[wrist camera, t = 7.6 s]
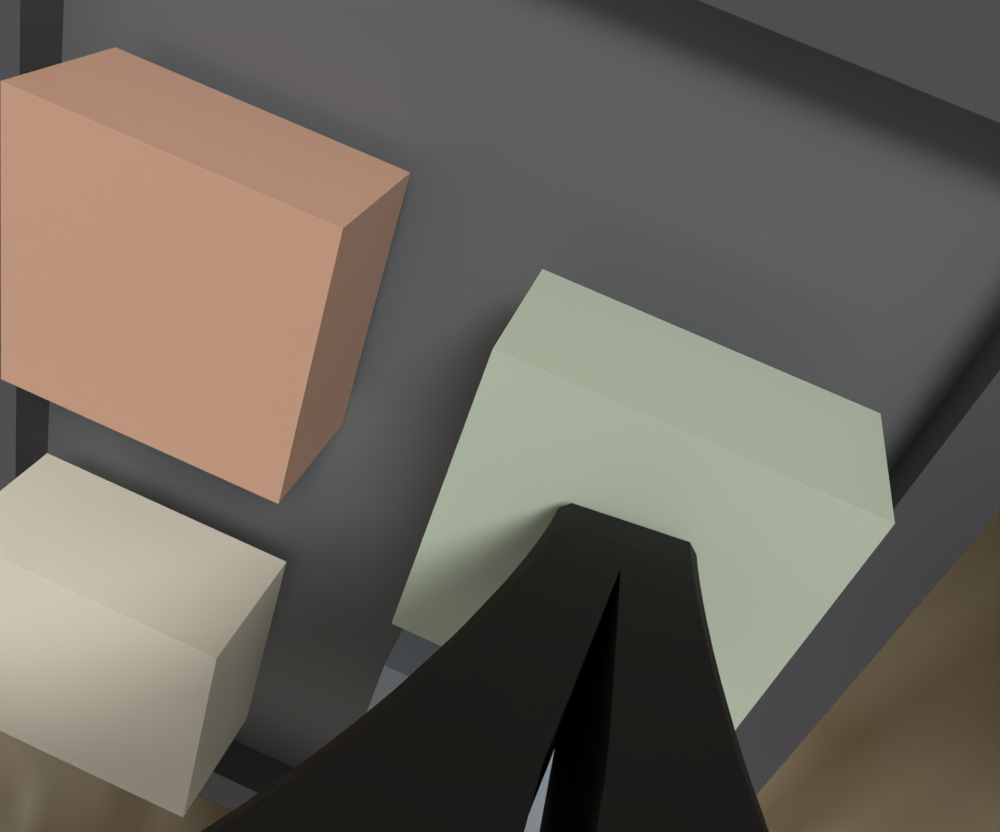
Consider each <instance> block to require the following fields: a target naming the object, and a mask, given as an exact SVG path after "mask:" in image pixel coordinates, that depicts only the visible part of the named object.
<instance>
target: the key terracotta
mask: <svg viewBox="0 0 1000 832" xmlns="http://www.w3.org/2000/svg"><path fill="white" fill-rule="evenodd" d="M409 176H410V172H408V171H406V170H403V169H401V168H399V167H396V166H394V165H391V164H389V163H387V162H384V161H382V160H380V159H377V158H375V157H373V156H370V155H368V154H366V153H363V152H361V151H359V150H356V149H354V148H352V147H349V146H347V145H344V144H342V143H340V142H337V141H335V140H333V139H330V138H328V137H326V136H323V135H321V134H319V133H316V132H314V131H312V130H309V129H307V128H304V127H302V126H300V125H297V124H295V123H293V122H290V121H288V120H286V119H283V118H281V117H279V116H276V115H274V114H272V113H269V112H267V111H264V110H262V109H260V108H257V107H255V106H253V105H250V104H248V103H246V102H243V101H241V100H239V99H236V98H234V97H232V96H229V95H227V94H224V93H222V92H220V91H217V90H215V89H213V88H210V87H208V86H206V85H203V84H201V83H199V82H196V81H194V80H192V79H189V78H187V77H184V76H182V75H180V74H177V73H175V72H173V71H170V70H168V69H166V68H163V67H161V66H159V65H156V64H154V63H152V62H149V61H147V60H144V59H142V58H140V57H137V56H135V55H133V54H130V53H128V52H126V51H123V50H121V49H119V48H116V47H114V48H111V49H108V50H104V51H101V52H97V53H94V54H91V55H87V56H84V57H80V58H77V59H73V60H70V61H67V62H63V63H60V64H56V65H53V66H50V67H46V68H43V69H39V70H36V71H33V72H29V73H26V74H22V75H19V76H15V77H12V78H9V79H5V80H2V81H1V379H2V380H4V381H6V382H9V383H11V384H13V385H15V386H17V387H20V388H22V389H24V390H26V391H29V392H31V393H33V394H35V395H37V396H40V397H42V398H44V399H46V400H49V401H51V402H53V403H55V404H57V405H60V406H62V407H64V408H66V409H68V410H71V411H73V412H75V413H77V414H80V415H82V416H84V417H86V418H88V419H91V420H93V421H95V422H97V423H100V424H102V425H104V426H106V427H108V428H111V429H113V430H115V431H117V432H120V433H122V434H124V435H126V436H128V437H131V438H133V439H135V440H137V441H140V442H142V443H144V444H146V445H148V446H151V447H153V448H155V449H157V450H160V451H162V452H164V453H166V454H168V455H171V456H173V457H175V458H177V459H180V460H182V461H184V462H186V463H188V464H191V465H193V466H195V467H197V468H199V469H202V470H204V471H206V472H208V473H211V474H213V475H215V476H217V477H219V478H222V479H224V480H226V481H228V482H231V483H233V484H235V485H237V486H239V487H242V488H244V489H246V490H248V491H251V492H253V493H255V494H257V495H259V496H262V497H264V498H266V499H268V500H271V501H273V502H275V503H277V504H279V503H280V501H281V500H282V499H283V498H284V496H285V495H286V494H287V493H288V491H289V490H290V489H291V488H292V486H293V485H294V484H295V483H296V481H297V480H298V479H299V478H300V476H301V475H302V474H303V473H304V471H305V470H306V469H307V468H308V466H309V465H310V464H311V463H312V461H313V460H314V459H315V458H316V456H317V455H318V454H319V453H320V451H321V450H322V449H323V448H324V446H325V445H326V444H327V443H328V441H329V440H330V439H331V438H332V436H333V435H334V434H335V433H336V431H337V430H338V429H339V428H340V426H341V425H342V424H343V420H344V416H345V413H346V409H347V405H348V401H349V398H350V394H351V390H352V387H353V383H354V379H355V376H356V372H357V368H358V364H359V361H360V357H361V353H362V350H363V346H364V342H365V339H366V335H367V331H368V328H369V324H370V320H371V316H372V313H373V309H374V305H375V302H376V298H377V294H378V291H379V287H380V283H381V279H382V276H383V272H384V268H385V265H386V261H387V257H388V254H389V250H390V246H391V243H392V239H393V235H394V231H395V228H396V224H397V220H398V217H399V213H400V209H401V206H402V202H403V198H404V194H405V191H406V187H407V183H408V180H409Z"/></svg>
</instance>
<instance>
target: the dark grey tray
mask: <svg viewBox="0 0 1000 832" xmlns="http://www.w3.org/2000/svg"><path fill="white" fill-rule="evenodd" d="M114 47H116V48H119V49H121V50H123V51H126V52H128V53H130V54H133V55H135V56H137V57H140V58H142V59H144V60H147V61H149V62H152V63H154V64H156V65H159V66H161V67H163V68H166V69H168V70H170V71H173V72H175V73H177V74H180V75H182V76H184V77H187V78H189V79H192V80H194V81H196V82H199V83H201V84H203V85H206V86H208V87H210V88H213V89H215V90H217V91H220V92H222V93H224V94H227V95H229V96H232V97H234V98H236V99H239V100H241V101H243V102H246V103H248V104H250V105H253V106H255V107H257V108H260V109H262V110H264V111H267V112H269V113H272V114H274V115H276V116H279V117H281V118H283V119H286V120H288V121H290V122H293V123H295V124H297V125H300V126H302V127H304V128H307V129H309V130H312V131H314V132H316V133H319V134H321V135H323V136H326V137H328V138H330V139H333V140H335V141H337V142H340V143H342V144H344V145H347V146H349V147H352V148H354V149H356V150H359V151H361V152H363V153H366V154H368V155H370V156H373V157H375V158H377V159H380V160H382V161H384V162H387V163H389V164H391V165H394V166H396V167H399V168H401V169H403V170H406V171H408V172H410V176H409V180H408V183H407V187H406V191H405V194H404V198H403V202H402V206H401V209H400V213H399V217H398V220H397V224H396V228H395V231H394V235H393V239H392V243H391V246H390V250H389V254H388V257H387V261H386V265H385V268H384V272H383V276H382V279H381V283H380V287H379V291H378V294H377V298H376V302H375V305H374V309H373V313H372V316H371V320H370V324H369V328H368V331H367V335H366V339H365V342H364V346H363V350H362V353H361V357H360V361H359V364H358V368H357V372H356V376H355V379H354V383H353V387H352V390H351V394H350V398H349V401H348V405H347V409H346V413H345V416H344V420H343V424H342V425H341V426H340V428H339V429H338V430H337V431H336V433H335V434H334V435H333V436H332V438H331V439H330V440H329V441H328V443H327V444H326V445H325V446H324V448H323V449H322V450H321V451H320V453H319V454H318V455H317V456H316V458H315V459H314V460H313V461H312V463H311V464H310V465H309V466H308V468H307V469H306V470H305V471H304V473H303V474H302V475H301V476H300V478H299V479H298V480H297V481H296V483H295V484H294V485H293V486H292V488H291V489H290V490H289V491H288V493H287V494H286V495H285V496H284V498H283V499H282V500H281V501H280V503H279V504H277V503H275V502H273V501H271V500H268V499H266V498H264V497H262V496H259V495H257V494H255V493H253V492H251V491H248V490H246V489H244V488H242V487H239V486H237V485H235V484H233V483H231V482H228V481H226V480H224V479H222V478H219V477H217V476H215V475H213V474H211V473H208V472H206V471H204V470H202V469H199V468H197V467H195V466H193V465H191V464H188V463H186V462H184V461H182V460H180V459H177V458H175V457H173V456H171V455H168V454H166V453H164V452H162V451H160V450H157V449H155V448H153V447H151V446H148V445H146V444H144V443H142V442H140V441H137V440H135V439H133V438H131V437H128V436H126V435H124V434H122V433H120V432H117V431H115V430H113V429H111V428H108V427H106V426H104V425H102V424H100V423H97V422H95V421H93V420H91V419H88V418H86V417H84V416H82V415H80V414H77V413H75V412H73V411H71V410H68V409H66V408H64V407H62V406H60V405H57V404H55V403H53V402H51V401H49V400H46V399H44V398H42V397H40V396H37V395H35V394H33V393H31V392H29V391H26V390H24V389H22V388H20V387H17V386H15V385H13V384H11V383H9V382H6V381H4V380H2V379H1V81H2V80H5V79H9V78H12V77H15V76H19V75H22V74H26V73H29V72H33V71H36V70H39V69H43V68H46V67H50V66H53V65H56V64H60V63H63V62H67V61H70V60H73V59H77V58H80V57H84V56H87V55H91V54H94V53H97V52H101V51H104V50H108V49H111V48H114ZM542 269H544V270H546V271H549V272H551V273H553V274H556V275H558V276H560V277H563V278H565V279H567V280H570V281H572V282H574V283H577V284H579V285H581V286H584V287H586V288H588V289H591V290H593V291H595V292H598V293H600V294H602V295H605V296H607V297H609V298H612V299H614V300H616V301H619V302H621V303H623V304H626V305H628V306H630V307H633V308H635V309H637V310H640V311H642V312H644V313H647V314H649V315H651V316H654V317H656V318H659V319H661V320H663V321H666V322H668V323H670V324H673V325H675V326H677V327H680V328H682V329H684V330H687V331H689V332H691V333H694V334H696V335H698V336H701V337H703V338H705V339H708V340H710V341H712V342H715V343H717V344H719V345H722V346H724V347H726V348H729V349H731V350H733V351H736V352H738V353H740V354H743V355H745V356H747V357H750V358H752V359H754V360H757V361H759V362H761V363H764V364H766V365H768V366H771V367H773V368H775V369H778V370H780V371H782V372H785V373H787V374H789V375H792V376H794V377H796V378H799V379H801V380H803V381H806V382H808V383H810V384H813V385H815V386H818V387H820V388H822V389H825V390H827V391H829V392H832V393H834V394H836V395H839V396H841V397H843V398H846V399H848V400H850V401H853V402H855V403H857V404H860V405H862V406H864V407H867V408H869V409H871V410H874V411H876V412H878V413H881V420H882V428H883V436H884V443H885V451H886V459H887V466H888V474H889V482H890V489H891V497H892V505H893V512H894V520H895V524H894V525H893V527H892V528H891V529H890V531H889V532H888V533H887V534H886V536H885V537H884V538H883V540H882V541H881V542H880V544H879V545H878V546H877V547H876V549H875V550H874V551H873V553H872V554H871V555H870V556H869V558H868V559H867V560H866V562H865V563H864V564H863V566H862V567H861V568H860V569H859V571H858V572H857V573H856V575H855V576H854V577H853V578H852V580H851V581H850V582H849V584H848V585H847V586H846V588H845V589H844V590H843V591H842V593H841V594H840V595H839V597H838V598H837V599H836V600H835V602H834V603H833V604H832V606H831V607H830V608H829V610H828V611H827V612H826V613H825V615H824V616H823V617H822V619H821V620H820V621H819V622H818V624H817V625H816V626H815V628H814V629H813V630H812V632H811V633H810V634H809V635H808V637H807V638H806V639H805V641H804V642H803V643H802V644H801V646H800V647H799V648H798V650H797V651H796V652H795V653H794V655H793V656H792V657H791V659H790V660H789V661H788V663H787V664H786V665H785V666H784V668H783V669H782V670H781V672H780V673H779V674H778V675H777V677H776V678H775V679H774V681H773V682H772V683H771V685H770V686H769V687H768V688H767V690H766V691H765V692H764V694H763V695H762V696H761V697H760V699H759V700H758V701H757V703H756V704H755V705H754V707H753V708H752V709H751V710H750V712H749V713H748V714H747V716H746V717H745V718H744V719H743V721H742V722H741V723H740V725H739V726H738V727H737V729H736V730H735V732H736V736H737V739H738V742H739V745H740V749H741V752H742V755H743V758H744V761H745V764H746V768H747V771H748V774H749V777H750V780H751V783H752V785H753V788H754V791H755V794H757V793H758V792H759V791H760V790H761V789H762V787H763V786H764V785H765V784H766V783H767V781H768V780H769V779H770V778H771V777H772V776H773V774H774V773H775V772H776V771H777V770H778V769H779V767H780V766H781V765H782V764H783V763H784V762H785V760H786V759H787V758H788V757H789V756H790V755H791V753H792V752H793V751H794V750H795V749H796V747H797V746H798V745H799V744H800V743H801V742H802V740H803V739H804V738H805V737H806V736H807V735H808V733H809V732H810V731H811V730H812V729H813V728H814V726H815V725H816V724H817V723H818V722H819V721H820V719H821V718H822V717H823V716H824V715H825V714H826V712H827V711H828V710H829V709H830V708H831V706H832V705H833V704H834V703H835V702H836V701H837V699H838V698H839V697H840V696H841V695H842V694H843V692H844V691H845V690H846V689H847V688H848V687H849V685H850V684H851V683H852V682H853V681H854V680H855V678H856V677H857V676H858V675H859V674H860V672H861V671H862V670H863V669H864V668H865V667H866V665H867V664H868V663H869V662H870V661H871V660H872V658H873V657H874V656H875V655H876V654H877V653H878V651H879V650H880V649H881V648H882V647H883V646H884V644H885V643H886V642H887V641H888V640H889V639H890V637H891V636H892V635H893V634H894V633H895V631H896V630H897V629H898V628H899V627H900V626H901V624H902V623H903V622H904V621H905V620H906V619H907V617H908V616H909V615H910V614H911V613H912V612H913V610H914V609H915V608H916V607H917V606H918V605H919V603H920V602H921V601H922V600H923V599H924V597H925V596H926V595H927V594H928V593H929V592H930V590H931V589H932V588H933V587H934V586H935V585H936V583H937V582H938V581H939V580H940V579H941V578H942V576H943V575H944V574H945V573H946V572H947V571H948V569H949V568H950V567H951V566H952V565H953V564H954V562H955V561H956V560H957V559H958V558H959V556H960V555H961V554H962V553H963V552H964V551H965V549H966V548H967V547H968V546H969V545H970V544H971V542H972V541H973V540H974V539H975V538H976V537H977V535H978V534H979V533H980V532H981V531H982V530H983V528H984V527H985V526H986V525H987V524H988V523H989V521H990V520H991V519H992V518H993V517H994V515H995V514H996V513H997V512H998V511H999V510H1000V0H0V491H1V490H2V489H3V488H4V487H6V486H7V485H8V484H9V483H11V482H12V481H13V480H14V479H16V478H17V477H18V476H19V475H21V474H22V473H23V472H24V471H26V470H27V469H28V468H29V467H31V466H32V465H33V464H34V463H36V462H37V461H38V460H39V459H41V458H42V457H43V456H44V455H46V454H47V453H48V454H50V455H52V456H55V457H57V458H59V459H61V460H63V461H66V462H68V463H70V464H72V465H74V466H77V467H79V468H81V469H83V470H85V471H88V472H90V473H92V474H94V475H96V476H99V477H101V478H103V479H105V480H107V481H110V482H112V483H114V484H116V485H118V486H121V487H123V488H125V489H127V490H129V491H132V492H134V493H136V494H138V495H140V496H143V497H145V498H147V499H149V500H151V501H154V502H156V503H158V504H160V505H163V506H165V507H167V508H169V509H171V510H174V511H176V512H178V513H180V514H182V515H185V516H187V517H189V518H191V519H193V520H196V521H198V522H200V523H202V524H204V525H207V526H209V527H211V528H213V529H215V530H218V531H220V532H222V533H224V534H226V535H229V536H231V537H233V538H235V539H237V540H240V541H242V542H244V543H246V544H248V545H251V546H253V547H255V548H257V549H259V550H262V551H264V552H266V553H268V554H270V555H273V556H275V557H277V558H279V559H281V560H284V561H286V566H285V570H284V574H283V578H282V582H281V586H280V589H279V593H278V597H277V601H276V605H275V609H274V613H273V617H272V621H271V625H270V629H269V633H268V637H267V641H266V645H265V649H264V652H263V656H262V660H261V664H260V668H259V672H258V676H257V680H256V684H255V688H254V692H253V696H252V700H251V704H250V708H249V712H248V715H247V719H246V721H245V722H244V724H243V725H242V727H241V728H240V730H239V731H238V733H237V735H236V736H235V738H234V739H233V741H232V742H231V744H230V746H229V747H228V749H227V750H226V752H225V753H224V755H223V756H222V758H221V760H220V761H219V763H218V764H217V766H216V767H215V769H214V770H213V772H212V774H211V775H210V777H209V778H208V780H207V781H206V783H205V785H204V786H203V788H202V789H201V791H200V792H199V794H198V795H199V796H201V797H204V798H206V799H208V800H210V801H212V802H214V803H216V804H218V805H220V806H223V807H225V808H227V809H229V810H231V811H233V810H235V809H236V808H238V807H239V806H241V805H242V804H244V803H245V802H246V801H248V800H249V799H251V798H252V797H254V796H255V795H256V794H258V793H259V792H261V791H262V790H264V789H265V788H266V787H268V786H269V785H271V784H272V783H273V782H275V781H276V780H278V779H279V778H281V777H282V776H283V775H285V774H286V773H288V772H289V771H290V770H292V769H293V768H295V767H296V766H298V765H299V764H300V763H302V762H303V761H305V760H306V759H307V758H309V757H310V756H311V755H313V754H314V753H315V752H317V751H318V750H319V749H321V748H322V747H323V746H325V745H326V744H327V743H329V742H330V741H331V740H332V739H334V738H335V737H336V736H338V735H339V734H340V733H341V732H343V731H344V730H345V729H347V728H348V727H349V726H351V725H352V724H353V723H354V722H356V721H357V720H358V719H359V718H361V717H362V716H363V715H364V714H365V713H367V710H368V707H369V705H370V702H371V699H372V697H373V694H374V691H375V689H376V686H377V684H378V681H379V678H380V676H381V673H382V670H383V668H384V665H385V663H386V661H387V659H388V657H389V655H390V653H391V651H392V649H393V648H394V646H395V644H396V642H397V640H398V638H399V636H400V634H401V632H402V630H403V628H400V627H398V626H396V625H394V624H392V621H393V618H394V615H395V613H396V610H397V607H398V604H399V602H400V599H401V596H402V594H403V591H404V588H405V585H406V583H407V580H408V577H409V575H410V572H411V569H412V566H413V564H414V561H415V558H416V556H417V553H418V550H419V547H420V545H421V542H422V539H423V537H424V534H425V531H426V528H427V526H428V523H429V520H430V518H431V515H432V512H433V509H434V507H435V504H436V501H437V499H438V496H439V493H440V490H441V488H442V485H443V482H444V480H445V477H446V474H447V471H448V469H449V466H450V463H451V461H452V458H453V455H454V452H455V450H456V447H457V444H458V442H459V439H460V436H461V433H462V431H463V428H464V425H465V423H466V420H467V417H468V414H469V412H470V409H471V406H472V404H473V401H474V398H475V395H476V393H477V390H478V387H479V385H480V382H481V379H482V376H483V374H484V371H485V368H486V366H487V363H488V360H489V357H490V355H491V352H492V349H493V348H494V346H495V344H496V343H497V341H498V339H499V338H500V336H501V335H502V333H503V331H504V330H505V328H506V327H507V325H508V323H509V322H510V320H511V319H512V317H513V315H514V314H515V312H516V311H517V309H518V307H519V306H520V304H521V303H522V301H523V299H524V298H525V296H526V294H527V293H528V291H529V290H530V288H531V286H532V285H533V283H534V282H535V280H536V278H537V277H538V275H539V274H540V272H541V270H542Z"/></svg>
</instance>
